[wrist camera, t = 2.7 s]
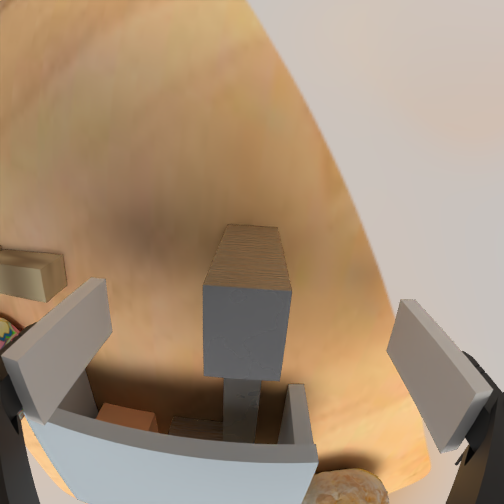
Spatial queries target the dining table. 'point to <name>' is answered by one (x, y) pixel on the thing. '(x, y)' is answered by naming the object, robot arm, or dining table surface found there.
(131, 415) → the block
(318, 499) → the fruit
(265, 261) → the grey piece
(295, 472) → the grey u-shaped bridge
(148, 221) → the dining table surface
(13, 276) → the l-shaped tan bracket
